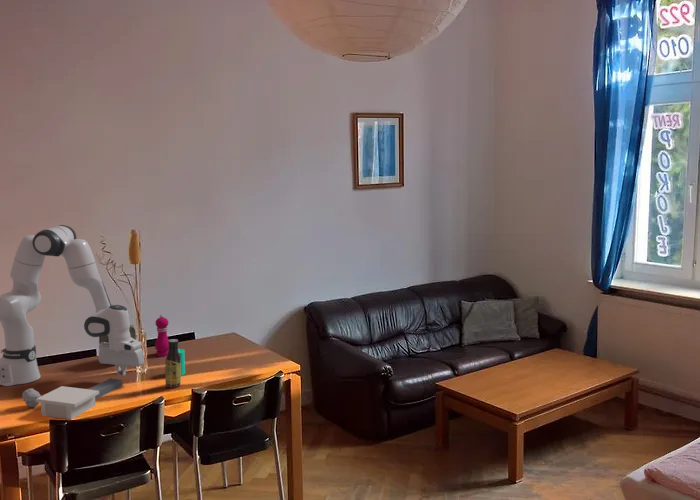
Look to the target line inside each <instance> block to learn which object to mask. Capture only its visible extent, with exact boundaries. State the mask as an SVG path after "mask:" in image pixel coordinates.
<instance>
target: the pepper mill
mask: <svg viewBox="0 0 700 500" xmlns="http://www.w3.org/2000/svg"><path fill="white" fill-rule="evenodd" d="M154 324H155V326H156V331H157V338H156V340H155V344H154V348H155V350H156V353H155V354H156V356H157V357H167V354H168V351H169V344H168V341H169V340H170V339H169V338H168V337H169V336H168V334H167V332H168V328H169V327H168V326H169V320H168V318H166V317H164V314H160V315H159V317H158V318H157V319H156V320H155V323H154Z"/></svg>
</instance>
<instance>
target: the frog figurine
mask: <svg viewBox="0 0 700 500" xmlns="http://www.w3.org/2000/svg"><path fill="white" fill-rule="evenodd" d="M21 396H22V397H21V398H22V399H23V401H24V404H25V405H26V406H28V407H29V408H34V407H35V408H36V406H38V405H39V404H40V402H36V399H37V398H39V397H41V396H42V395H41V394H40V392H39V391H37V390H35V389H34V388H27V389H26V390H24V391H23V392H22V394H21Z"/></svg>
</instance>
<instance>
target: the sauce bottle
mask: <svg viewBox="0 0 700 500" xmlns="http://www.w3.org/2000/svg"><path fill="white" fill-rule="evenodd" d="M168 344H169V351H168V354H167V356H165V357H166V358H165V366H164V367H165V369H164V370H165V373H164V374H165V379H164V380H165V386H166V387H167V388H173V389H174V388H175V389H176V388H178V387H180V386H181V380H182V375H181V356H180V353H179V352H178V349H179V340H178V339H176V338H173V339H172V338H171V339H169V341H168Z"/></svg>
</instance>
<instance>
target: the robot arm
mask: <svg viewBox="0 0 700 500" xmlns="http://www.w3.org/2000/svg"><path fill="white" fill-rule="evenodd" d="M16 249H17V250H16V252H15V256H14V258H13V262H12V266H11V269H10V272H9V273H10V274H9V275H10V278H11V280H12V288H11V290H10V291H8V292H6V293H3V294H1V295H0V324H1V326H2V329H3V334H4V343H5V348H3V349H0V354H1V353H3V354H2V357H0V386H3V387H10V386H14V385H23V384H28V383H32V382H33V383H34V382H35V381H37V380H39V379H41V376H42V375H41V374H40V369H39V367H38V366H39V365H38V361H37V357H36V355H37V348H36V347H37V346H36V344H35V335H34V334H35V332H34V327H33V326H32V325H30V324H29V322H28V319H27V316H26V315H27V313H30V312H32V311H34V310H35V309H36V308H37V307H38V306H39V305H40V304H41V301H42V295H41V292H40V291H39V280H40V277H41V272H42V268H43V264H44V262H45V257H46V256H49V257H60V256H62V257H63V258H64V260H65V262H66V266H67V270H68V274H69V276H70V278H71V280H72V282H73V284H75V285H76V286H78V287H81V288H85V289H86V290H87V291H88V292H89V293H90V295H91V298H92V301H93V305H94V306H95V313H93V314H91V315H90V316H88V318H86V319H85V321H84V323H83V328H84V331H85V333H86V334H87V335H88V336H90V337H92V338H99V337H101V336H105V335H108V337H109V342H102V343H100V344H99V343H98V362H99V363H100V364H103V365H114V368H115V370H116V371H117V375H119V376H125V375H126V374H127V372H126V371H127V370H128V367H132V368H133V367H134V368H135V367H136V368H139V367H141V366H143V365H144V363H145V357H144V350H143V349H142V348H141V347H142V346H143V344H142V342H141V341H140V340H137V339H136V340H135V339H133V338H131V335H130V332H129V328H130V325H131V320H130V314H129V310H128V308H127V307H125V306H123V305H120V304H111V301H110V298H109V296H108V293H107V290H106V287H105V284H104V282H103V280H102V277H101V276H100V272H99V270H98V265H97V262H96V259H95V255H94V253H93V251H92V248H91V246H90V244H89V242H88V241H87V240H86V239H82V238H77V233H76V231H75V230H74V229H73V228H72V227H71V226H68V225H64V224H61V225H60V224H59V225H54V226H50V227H48V228H45V229H42V230H40V231H38V232H37V233H35V234H27V235H25V236H24V237H23V238H22V239H21V241H20V243H19V245H18V247H17V248H16ZM121 367H122V368H121Z"/></svg>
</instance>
